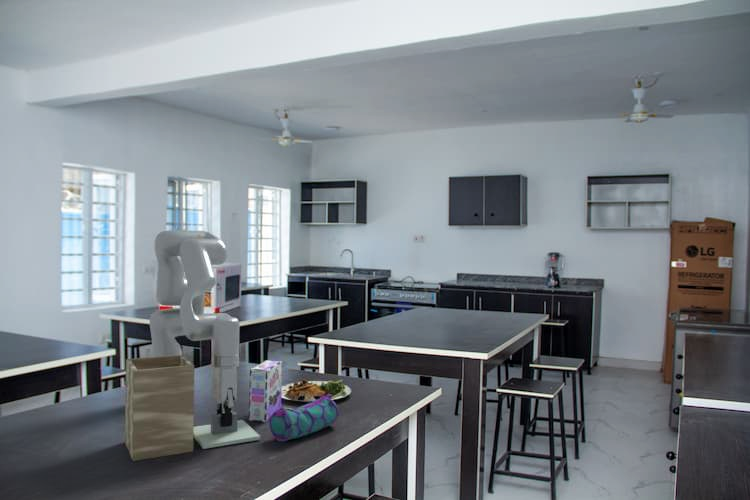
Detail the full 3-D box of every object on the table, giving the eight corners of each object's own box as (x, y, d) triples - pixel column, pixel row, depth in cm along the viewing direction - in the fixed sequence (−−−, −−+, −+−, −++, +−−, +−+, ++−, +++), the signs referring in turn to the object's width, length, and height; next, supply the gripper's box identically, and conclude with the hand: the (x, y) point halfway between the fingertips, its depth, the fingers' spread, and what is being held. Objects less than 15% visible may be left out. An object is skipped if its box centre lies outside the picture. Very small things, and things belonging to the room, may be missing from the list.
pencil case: (289, 446, 162) (290, 412, 162) (268, 439, 168) (268, 405, 167) (339, 428, 179) (340, 396, 178) (318, 421, 184) (319, 391, 184)
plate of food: (366, 393, 217) (366, 377, 217) (319, 411, 194) (319, 393, 193) (307, 383, 232) (307, 368, 232) (257, 399, 209) (257, 382, 209)
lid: (189, 434, 172) (189, 410, 171) (242, 426, 180) (243, 403, 179) (202, 452, 158) (203, 426, 158) (260, 443, 166) (260, 418, 166)
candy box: (265, 423, 181) (266, 370, 180) (248, 421, 182) (248, 368, 182) (281, 409, 195) (282, 360, 194) (265, 408, 196) (266, 359, 195)
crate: (124, 442, 162) (125, 359, 161) (180, 433, 170) (181, 354, 169) (132, 461, 149) (133, 371, 149) (193, 451, 157) (194, 365, 156)
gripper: (204, 356, 173) (203, 417, 174) (220, 368, 159) (219, 435, 160) (230, 353, 177) (229, 414, 178) (247, 365, 163) (246, 431, 163)
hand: (224, 423), depth 169 cm, fingers open, 3 cm apart
